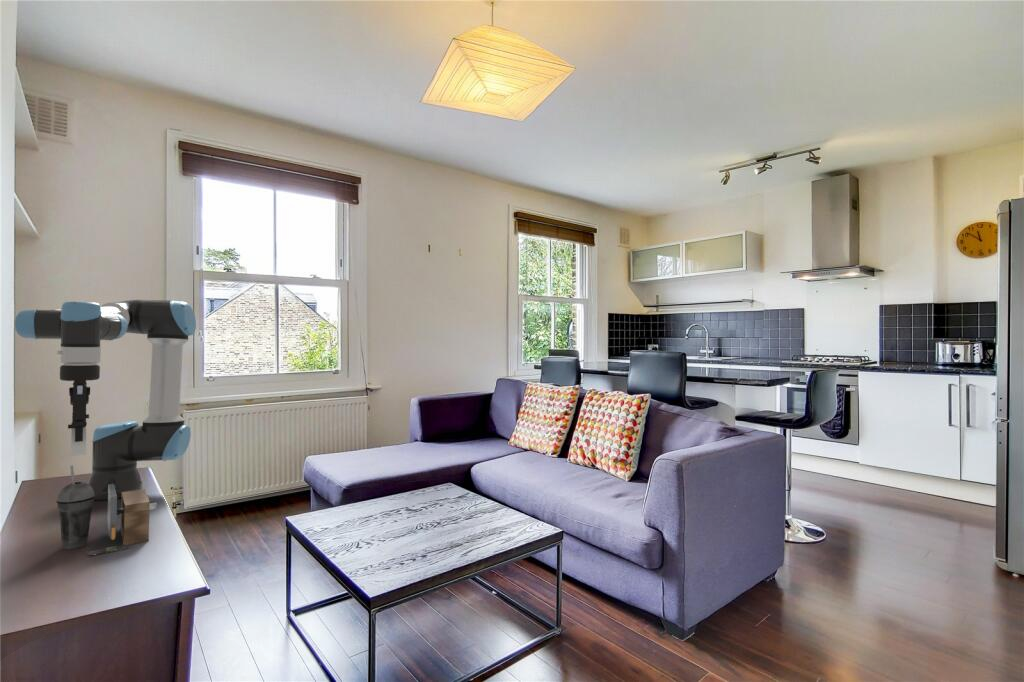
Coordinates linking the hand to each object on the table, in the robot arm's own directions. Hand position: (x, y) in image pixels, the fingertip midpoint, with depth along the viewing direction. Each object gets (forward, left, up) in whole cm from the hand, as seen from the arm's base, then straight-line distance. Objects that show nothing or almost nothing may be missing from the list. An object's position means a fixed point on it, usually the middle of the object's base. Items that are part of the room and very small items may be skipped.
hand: (78, 449), depth 125 cm
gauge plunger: (-8, +8, -21) cm, 24 cm away
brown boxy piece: (-6, +6, -24) cm, 25 cm away
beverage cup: (0, 0, -24) cm, 24 cm away
